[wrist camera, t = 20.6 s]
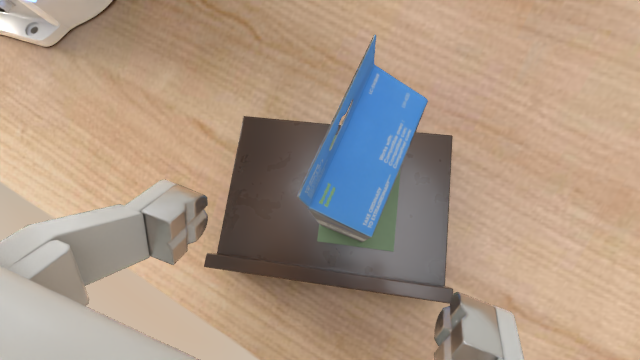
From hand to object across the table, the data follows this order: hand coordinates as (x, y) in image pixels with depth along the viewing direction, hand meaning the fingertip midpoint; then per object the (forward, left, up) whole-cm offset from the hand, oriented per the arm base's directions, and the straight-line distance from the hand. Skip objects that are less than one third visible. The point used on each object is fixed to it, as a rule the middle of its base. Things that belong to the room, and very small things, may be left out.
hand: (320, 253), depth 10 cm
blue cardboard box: (+1, +6, -16) cm, 17 cm away
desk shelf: (-1, +4, -19) cm, 19 cm away
